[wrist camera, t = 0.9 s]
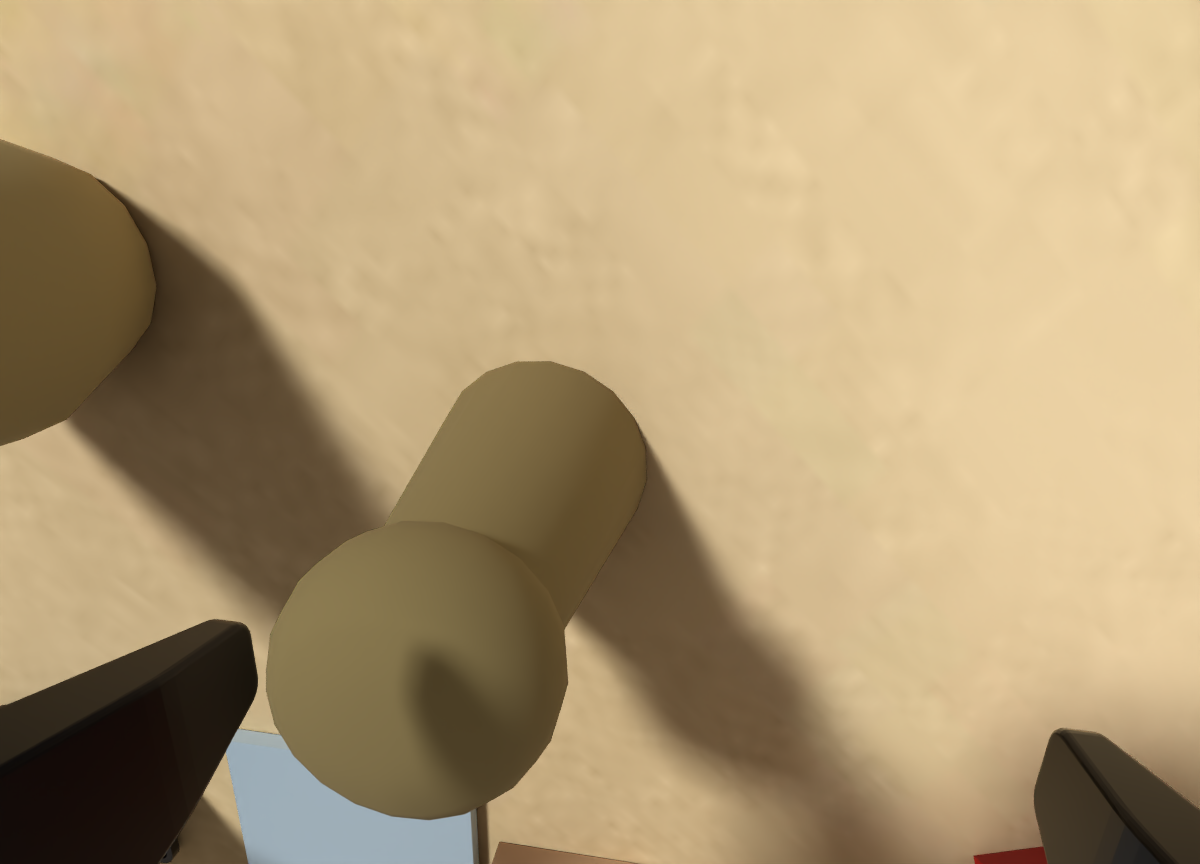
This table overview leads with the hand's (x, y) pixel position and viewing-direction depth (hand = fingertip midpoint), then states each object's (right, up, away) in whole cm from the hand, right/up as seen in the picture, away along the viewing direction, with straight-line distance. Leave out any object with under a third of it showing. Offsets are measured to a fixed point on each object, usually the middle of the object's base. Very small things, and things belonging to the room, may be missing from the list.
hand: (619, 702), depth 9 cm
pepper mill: (-2, +2, +14) cm, 14 cm away
